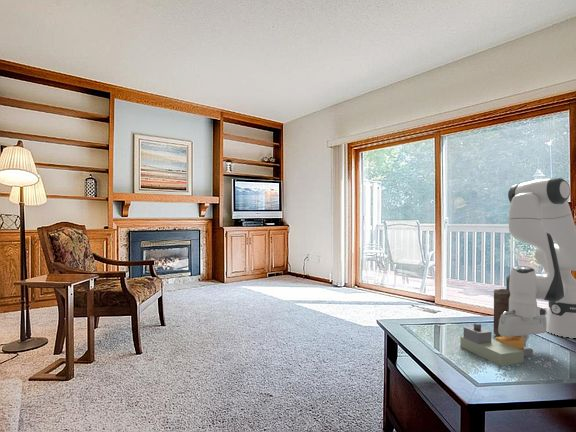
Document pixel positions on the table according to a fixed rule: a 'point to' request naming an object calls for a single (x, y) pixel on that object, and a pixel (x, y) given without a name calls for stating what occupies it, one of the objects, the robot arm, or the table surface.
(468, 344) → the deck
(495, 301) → the candle
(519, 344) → the orange lidded box
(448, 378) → the table surface
